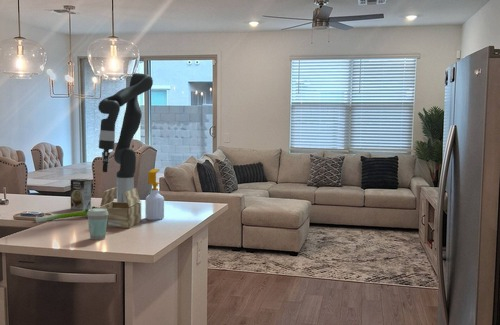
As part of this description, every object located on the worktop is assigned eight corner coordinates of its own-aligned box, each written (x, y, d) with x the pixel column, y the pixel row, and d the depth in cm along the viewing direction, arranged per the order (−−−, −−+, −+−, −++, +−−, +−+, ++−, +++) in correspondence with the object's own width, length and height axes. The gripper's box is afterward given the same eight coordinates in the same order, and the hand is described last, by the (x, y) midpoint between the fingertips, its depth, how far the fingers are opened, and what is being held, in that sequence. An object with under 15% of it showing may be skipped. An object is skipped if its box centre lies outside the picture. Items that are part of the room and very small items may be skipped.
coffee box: (70, 209, 272) (69, 179, 271) (78, 207, 278) (78, 178, 277) (83, 210, 269) (83, 180, 268) (91, 208, 275) (91, 179, 274)
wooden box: (113, 220, 246) (112, 201, 245) (141, 221, 244) (140, 202, 243) (99, 227, 229) (99, 207, 228) (129, 228, 227) (129, 208, 227)
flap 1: (112, 200, 244) (116, 187, 243) (113, 201, 244) (116, 187, 243) (100, 206, 229) (103, 191, 228) (100, 206, 229) (104, 191, 228)
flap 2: (139, 202, 243) (135, 187, 242) (140, 201, 242) (136, 187, 242) (128, 207, 227) (124, 192, 227) (129, 207, 227) (125, 192, 227)
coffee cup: (89, 236, 212) (89, 207, 211) (110, 236, 213) (110, 207, 212) (84, 241, 203) (84, 211, 202) (106, 240, 204) (106, 211, 203)
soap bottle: (167, 217, 254) (167, 168, 252) (158, 220, 246) (158, 170, 244) (151, 216, 257) (151, 168, 255) (142, 219, 249) (141, 169, 247)
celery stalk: (35, 224, 242) (98, 215, 256) (36, 229, 236) (102, 219, 250) (33, 212, 240) (98, 203, 254) (35, 217, 234) (101, 207, 248)
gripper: (114, 140, 250) (112, 173, 251) (114, 139, 264) (112, 170, 265) (99, 139, 248) (96, 172, 249) (99, 138, 262) (97, 169, 263)
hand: (104, 171), depth 257 cm, fingers open, 8 cm apart
